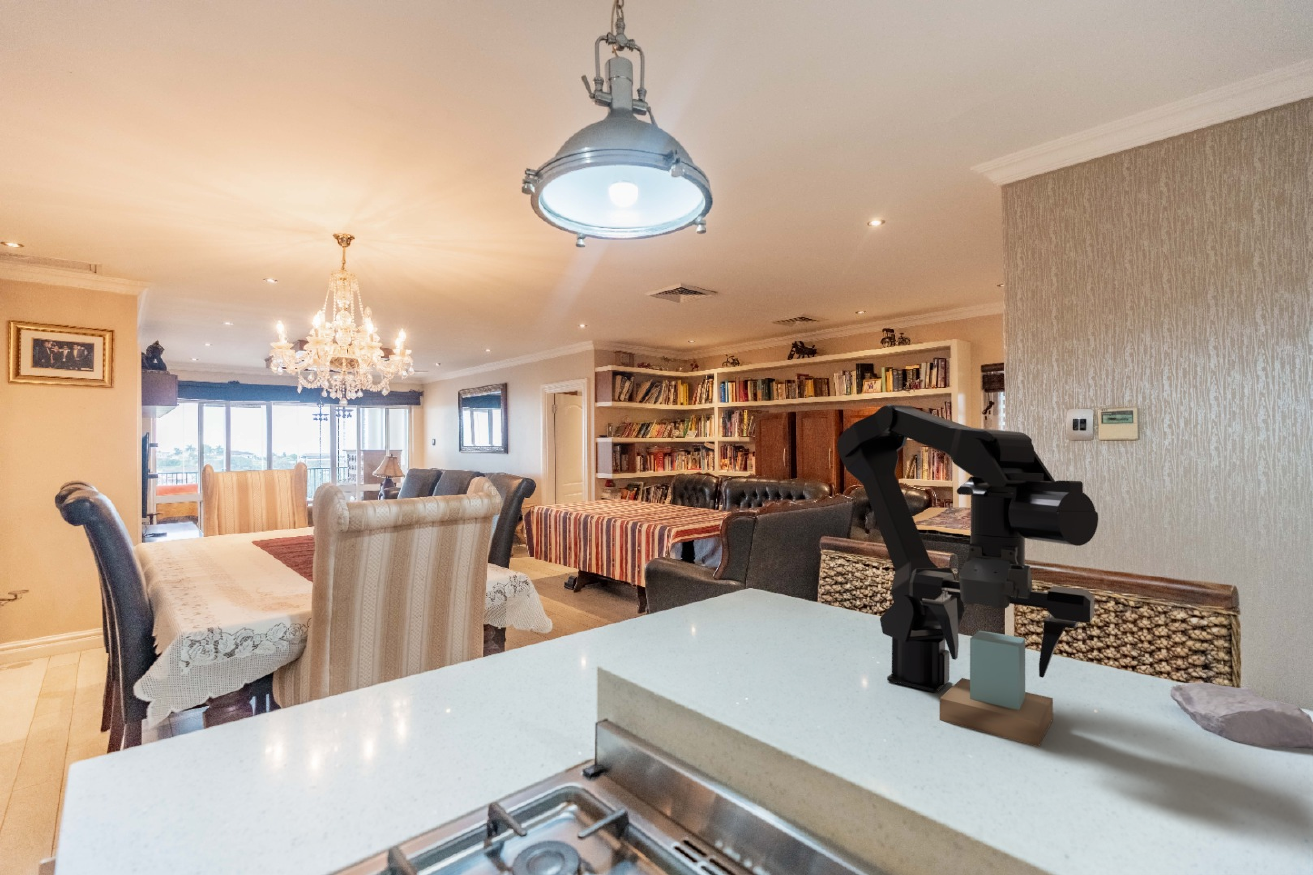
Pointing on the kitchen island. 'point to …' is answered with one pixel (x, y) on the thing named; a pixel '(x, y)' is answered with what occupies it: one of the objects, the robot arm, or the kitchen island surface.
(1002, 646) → the teal block
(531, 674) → the kitchen island surface
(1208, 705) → the stone block
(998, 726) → the walnut base block
